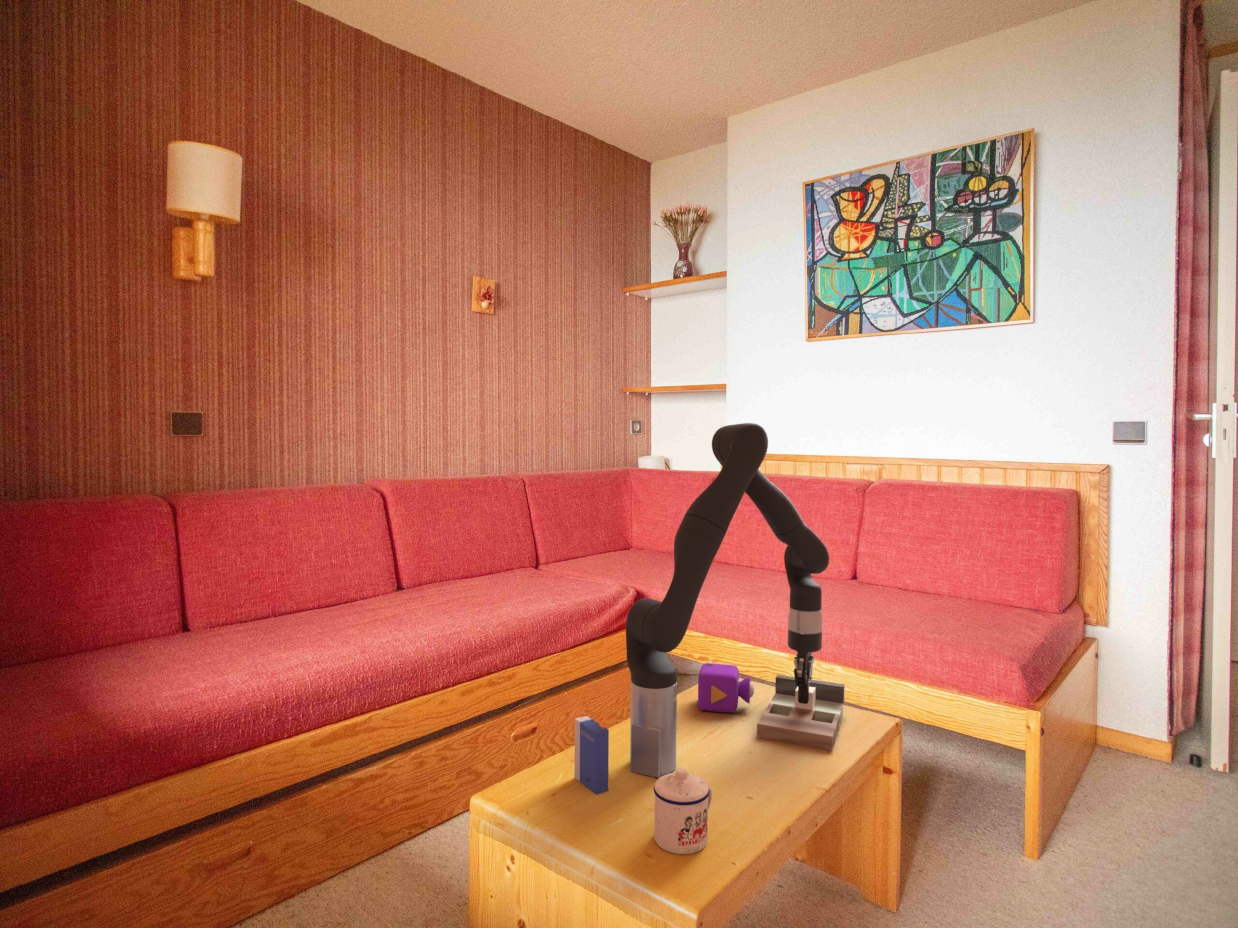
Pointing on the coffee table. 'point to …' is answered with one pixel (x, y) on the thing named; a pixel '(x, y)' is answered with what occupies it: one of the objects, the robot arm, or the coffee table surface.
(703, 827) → the teacup with lid
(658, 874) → the coffee table surface
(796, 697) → the block
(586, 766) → the walkman
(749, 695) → the toy camera
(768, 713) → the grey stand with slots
